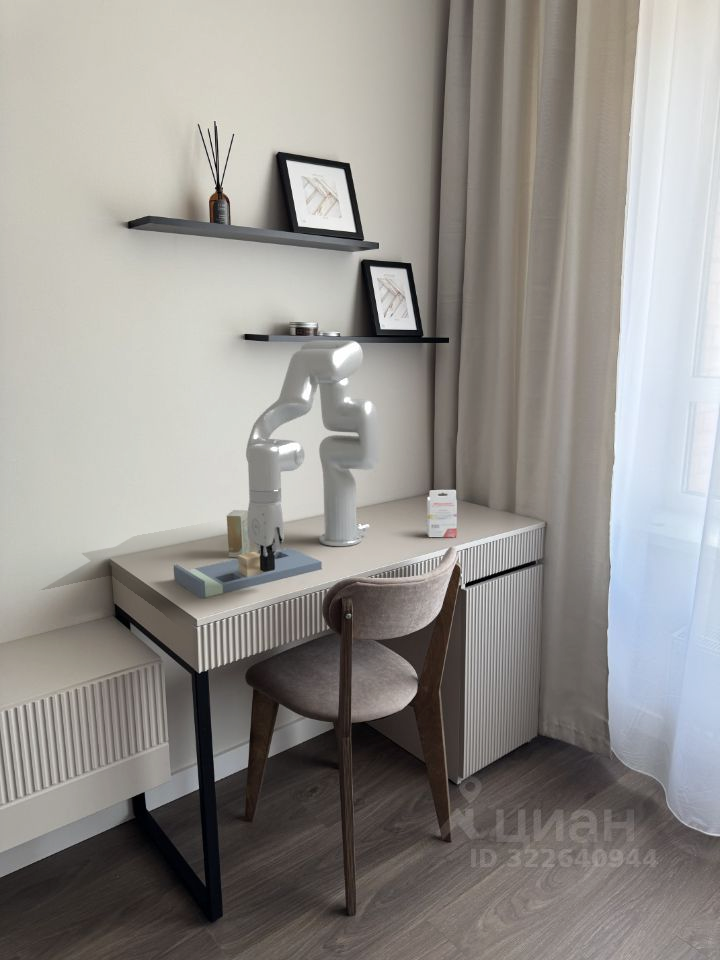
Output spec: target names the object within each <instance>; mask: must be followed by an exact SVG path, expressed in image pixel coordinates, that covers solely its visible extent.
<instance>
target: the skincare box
mask: <svg viewBox="0 0 720 960" xmlns="http://www.w3.org/2000/svg"><path fill="white" fill-rule="evenodd" d="M226 527H227V529H226V530H227V543H228V546H227V548H228V558H236V559H238V555H241V554H246V553H250V552H251V547H250V539H249V538H248V510H245V509H244V510H243V509H239V510H237V509H233V510H232V511H231V512H229V513H228V514H227V515H226Z"/></svg>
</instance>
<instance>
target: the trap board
mask: <svg viewBox="0 0 720 960" xmlns="http://www.w3.org/2000/svg"><path fill="white" fill-rule="evenodd" d="M260 555H261V554H260ZM322 565H323V564H322V561H321V560H319V559H317V558H314V557H312V556H309V555H307V554H305V553H303V552H301V551H297V550H295V549H294V548H290V547H287V548H283V549H280V550H279V551H276V554H275V570H272V571H268V572H263V573H262V574H258V575H254V576H249V577H247V576H245V575H243V574H241V573H239V565H238V558H236V559H232V560H227V561H222V562H218V563H212V564H209V565H205V566H199V567H196V568H191V569H185V568H184V567H182V566H180V565H179V564H174V565H173V580H174V582H176V583H178V584H179V585H181V586H182V587H184V588H185V589H186V590H188V591H190V592H191V593H193V594H194V595H196V596H198V597H199V598H201V599H205V598H208V597H212V596H217V595H221V594H225V593H229V592H233V591H237V590H241V589H246V588H249V587H250V588H251V587H254V586H257V585H262V584H266V583H270V582H274V581H278V580H282V579H287V578H290V577H294V576H299V575H303V574H306V573H307V574H308V573H310V572H315V571H319V570H322V569H323V568H322V567H323V566H322Z"/></svg>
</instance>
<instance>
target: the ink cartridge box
mask: <svg viewBox="0 0 720 960" xmlns="http://www.w3.org/2000/svg"><path fill="white" fill-rule="evenodd" d="M428 493H429V494H428V495H429V496H427V499H426V502H427V503H426V506H427V507H426V513H427V514H426V521H427V522H426V523H427V525H426V527H427V528H426V530H427V531H426V533H427V536H428V538H429V537H452V536H458V531H457V529H458V528H457V527H458V525H457V524H458V520H457V519H458V517H457V515H458V510H457V509H458V507H457V506H458V504H457V503H458V500H457V490H456V489H437V490H436V489H435V490H433V489H432V490H429V492H428ZM442 494H444V495H442Z"/></svg>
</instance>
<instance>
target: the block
mask: <svg viewBox="0 0 720 960" xmlns="http://www.w3.org/2000/svg"><path fill="white" fill-rule="evenodd" d="M237 559H238V565H239V573H241V574H243V575H245V576H247V577H249V576H254V575H258V574H262V573H263V571H261V570H260V554H259V552H255V551H249V553H246V554H241V555H238V558H237Z"/></svg>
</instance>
